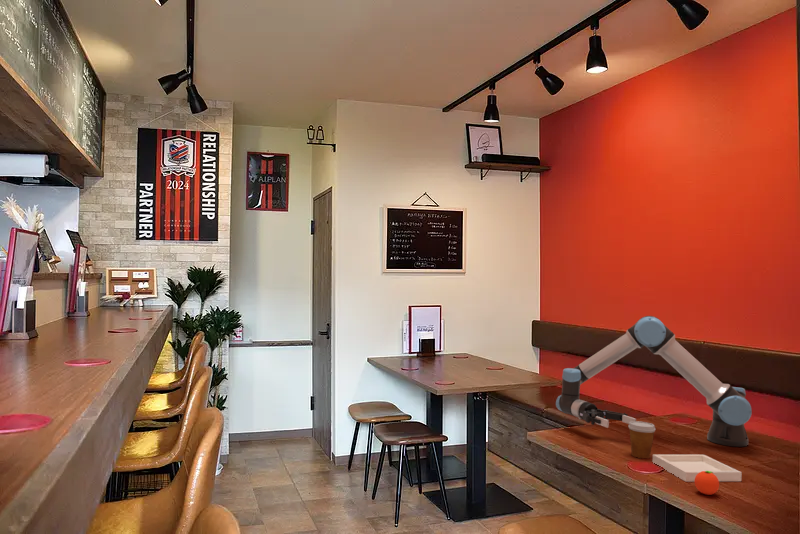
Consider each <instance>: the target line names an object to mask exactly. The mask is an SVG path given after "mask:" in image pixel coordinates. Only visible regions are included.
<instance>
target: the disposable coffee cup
mask: <svg viewBox="0 0 800 534" xmlns="http://www.w3.org/2000/svg"><path fill="white" fill-rule="evenodd" d="M628 429H629V437H630V438H629V439H630V450H631V456H632V457H634V458H636V457H638V458H637V459H641V458H648V459H650V458H651V453H652V445H653V440H654V435H655V432H656V430H657V429H656V427H655V424H653V423H652V422H651V423H650V422H646V421H641V420H640V421H639V420H638V421H637V420H636V421H632V422H630V423H629V424H628Z"/></svg>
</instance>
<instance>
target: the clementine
mask: <svg viewBox="0 0 800 534" xmlns="http://www.w3.org/2000/svg"><path fill="white" fill-rule="evenodd" d="M694 486H695V488H696V489H697V491H698V492H699V493H701V494H703V495H706V496H711V495H714V494H715V493H717V492H718V490H719V489H720V481H719V480H718V478H717V477H716V476H715V475H714V474H713V472H710V471H702V472H700V473H698V474H697V475H696V477H695V482H694Z"/></svg>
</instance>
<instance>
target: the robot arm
mask: <svg viewBox="0 0 800 534" xmlns="http://www.w3.org/2000/svg"><path fill="white" fill-rule="evenodd" d="M643 347H645V348H647V350H649V351H650V352H651V353H652V354H653V355H659V356H660V357H661V358H662V359H663V360H665V361H666V362H667V363H668V364H669V365H670V366H671V367H672V368H673V369H674V370H676V371H677V372H678V373H679V375H681V376H682V377H683V378H684V379H685V380H686V381H687V382H688V383H689V384H690V385H692V386H693V387H694V388H695V389H696V390H697V391H698V392H699V393H700V394H701V395H702V396H703V397H705V399H706V405H707V406H708V407H710V409H712V422H711V425H710V427H709V429H708V432H707V437H706V438H707V439H706V440H707V441H709V442H711V443H713V444H717V445H722V446H726V447H727V446H728V447H738V448H739V447H740V448H743V447H748V446H749V437H748V433H747V431H746V428H745V424H746V423H747V422H749V420H750V419H751V417H752V414H753V413H752V406H751V403H750V402H749V400H747V399H746V395H747V393H746V389H745V388H743V387H736V386H732V385H731V384H729V383H723V382H722V381H720V380H719V379H718V378H717V377H716V376H715V375H714V374H713V373H712V372H711V371H710V370H709V369H707V368H706V367H705V366H704V365H703V364H702V363H701V362H700V361H699V360H698V359H697V358H695V357H694V356H693V355H692V354H691V353H690V352H689V351H688V350H687V349H685V348H684V346H682V345H681V344H680V343H679V342H678V341H677V340H676V334H675V333H674V332H673V331H672V330H671V329H669V327H667V326H666V325H665V324H664V323H663V322H662V321H661V319H659V318H658V317H656V316H653V315H645V316H643V317H641V318H639V320H637V321H636V322H635V323H634V324H633V325H632V326H630V327H629V328H628V329H626V332H625V334H623V335H621V336H619V338H617V339H615V340H614V341H612V342H611V343H609V344H608V345H606V346H605V347H603V348H602V349H601V350H598V351H597V352H596V353H595V354H593V355H592V356H590V357H588V358H587V359H585V360H583V361H582V362H581V363H579V364H578V365H576V366H575V367H573V368H571V367H567V368H564V369H563V370H562V376H561V380H562V381H561V394H560V395H558V396H557V398H556V401H555V407H556V408H557V409H558V411H560V412H562V413H564V414H567V415H570V416H573V417H575V418H578V420H584V421H585V422H586V423H587V424H589V423H591V424H590V425H592V426H594V425H595V424H596V425H599V426H602V427H604V428H607V429H608V428H609V427H610V425H609V424H610V420H613V421H614V420H615V421H619V422H622V423H625V424H628V425H629V423H630V422H632V421H637V418H634V417H632V416H628V413H626V412H624V413H622V412H617V411H612V410H607V409H604V410H602V409H600V408H598V407H597V405H596V404H595V403H593V402H590V401H587V400H586V401H585V400H582V399H580V391H581V385H582V384H584V383H585V382H587V381H588V380H590V379H591V378H592V377H594V376H596V375H597V374H599V373H601V371H603V370H605V369H607V368H608V367H610V366H611V365H613V364H615V363H616V362H617V361H618V360H620V359H622V358H624V357H625V356H628V354H630V353H631V352H633V351H634V350H636V349H642V348H643ZM747 445H748V446H747Z"/></svg>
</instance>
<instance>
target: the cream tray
mask: <svg viewBox="0 0 800 534" xmlns="http://www.w3.org/2000/svg"><path fill="white" fill-rule="evenodd" d="M651 462H653V463H652V464H654V463H655V464H657V465H659V466H661V467H663V468H664V469H665V470H664V469H663V470H664V471H666V470H667V471H666V472H668V473H670V474H671V473H672V474H671V475H673V474H674V477H676V478H678V477H679V478H678V479H680V480H682V481H684V482H687V483H689V482H690V483H691V482H692V483H695V477H696V475H697V474H698V473H700V472H702V471H710V472H713V474H714V475H715V476H716V477H717V478H718V480H719V482H742V471H740V470H737V469H736V468H734V467H732V466H729V465H727V464H724V463H723V462H721V461H718V460H716V459H714V458H712V457H710V456H708V455H706V454H652V461H651ZM655 464H654V465H655ZM657 465H656V466H657ZM659 466H658V467H659ZM661 467H660V468H661Z"/></svg>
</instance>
